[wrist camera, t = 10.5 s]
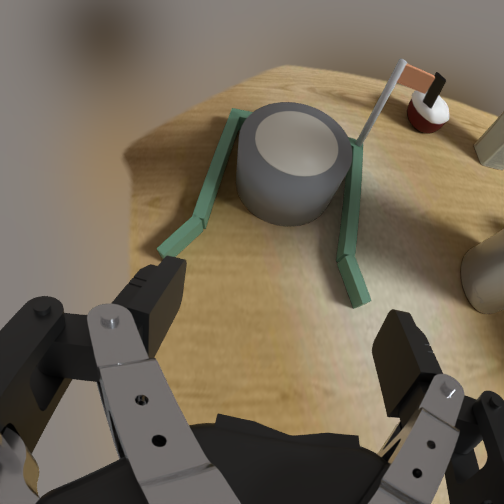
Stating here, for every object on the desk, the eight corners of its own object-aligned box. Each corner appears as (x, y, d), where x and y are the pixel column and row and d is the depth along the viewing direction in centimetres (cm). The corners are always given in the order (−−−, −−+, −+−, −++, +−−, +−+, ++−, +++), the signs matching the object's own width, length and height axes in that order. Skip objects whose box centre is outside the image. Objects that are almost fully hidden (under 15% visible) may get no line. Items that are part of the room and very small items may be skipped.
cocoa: (426, 111, 44) (459, 61, 33) (445, 139, 42) (484, 90, 31) (384, 109, 43) (417, 50, 32) (404, 139, 40) (444, 80, 29)
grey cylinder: (306, 137, 39) (321, 95, 32) (346, 211, 36) (372, 175, 29) (223, 157, 37) (223, 112, 30) (256, 239, 34) (265, 204, 26)
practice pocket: (366, 311, 32) (464, 263, 17) (159, 261, 32) (111, 173, 17) (377, 160, 39) (434, 72, 24) (213, 118, 39) (213, 11, 24)
